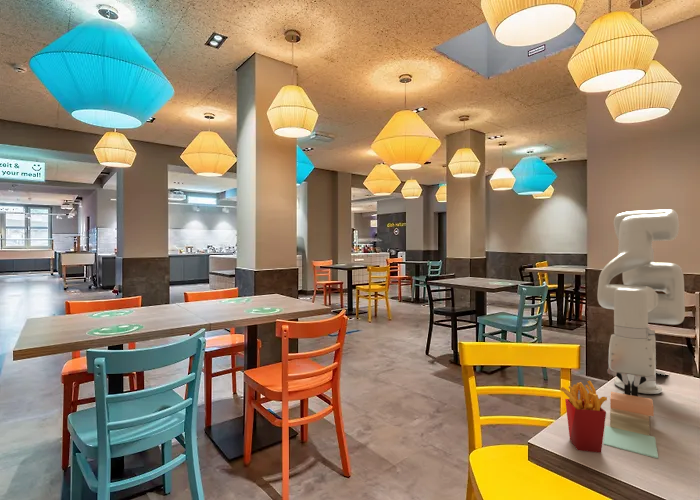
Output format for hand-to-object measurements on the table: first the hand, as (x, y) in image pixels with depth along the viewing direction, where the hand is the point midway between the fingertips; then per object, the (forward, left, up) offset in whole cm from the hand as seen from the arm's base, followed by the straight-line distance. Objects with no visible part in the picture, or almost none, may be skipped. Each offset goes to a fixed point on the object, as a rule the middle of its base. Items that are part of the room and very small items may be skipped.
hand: (631, 398), depth 103 cm
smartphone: (-40, +5, -4) cm, 40 cm away
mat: (+17, 0, -5) cm, 17 cm away
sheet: (+3, 0, -5) cm, 6 cm away
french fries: (+25, -10, -5) cm, 28 cm away
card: (+5, 0, -1) cm, 5 cm away
